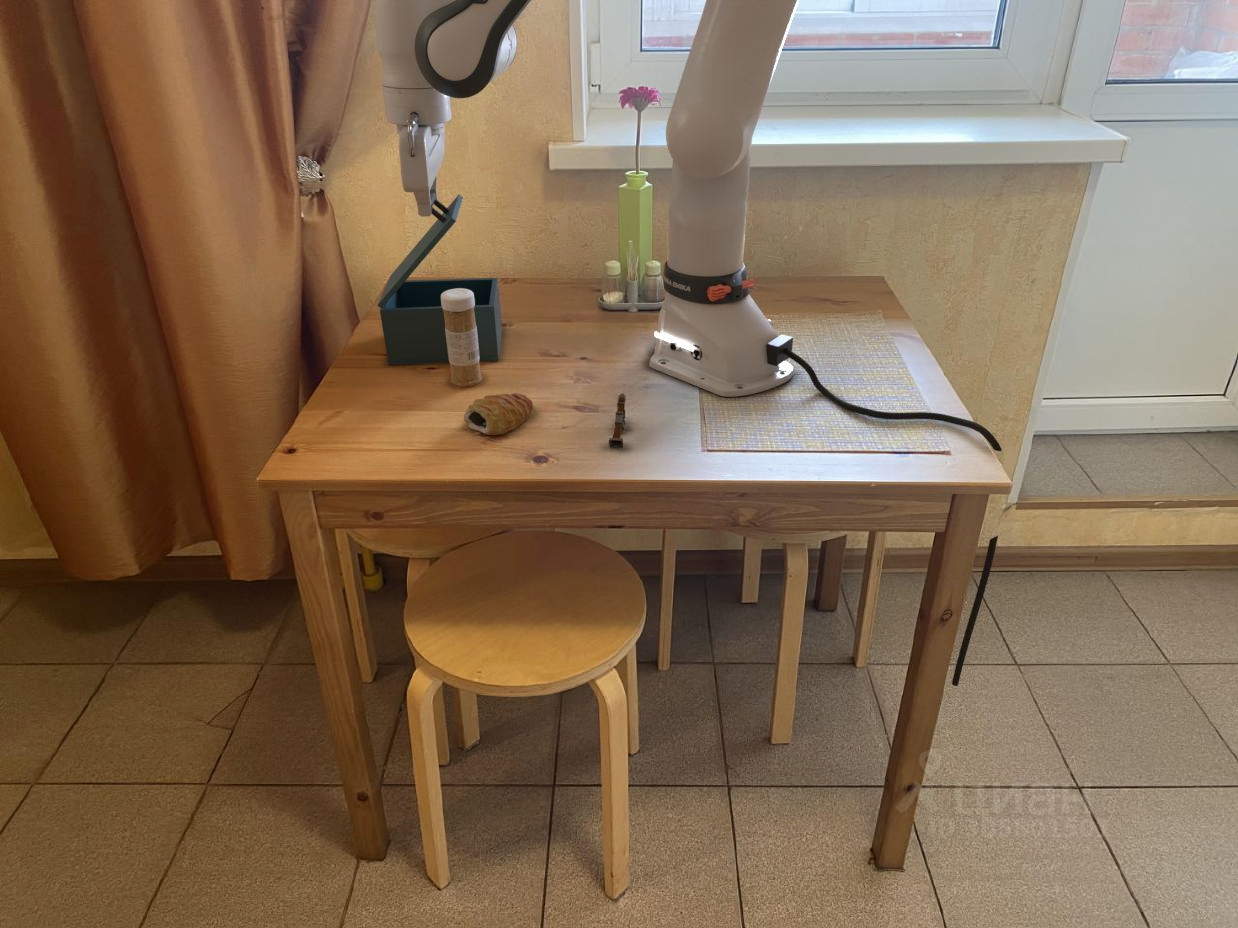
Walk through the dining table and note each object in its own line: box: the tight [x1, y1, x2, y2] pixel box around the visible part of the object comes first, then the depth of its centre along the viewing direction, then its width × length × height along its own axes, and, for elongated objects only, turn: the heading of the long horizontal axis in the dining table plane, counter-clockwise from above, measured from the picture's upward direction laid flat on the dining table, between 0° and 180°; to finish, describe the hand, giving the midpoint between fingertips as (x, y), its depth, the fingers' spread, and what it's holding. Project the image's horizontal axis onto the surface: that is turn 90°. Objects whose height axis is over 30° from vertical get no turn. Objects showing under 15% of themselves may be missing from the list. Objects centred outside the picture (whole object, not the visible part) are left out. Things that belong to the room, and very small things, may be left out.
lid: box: [377, 190, 464, 309], centre depth 130 cm, size 17×13×5 cm
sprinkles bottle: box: [441, 288, 483, 387], centre depth 125 cm, size 5×5×13 cm
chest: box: [379, 277, 503, 366], centre depth 137 cm, size 17×13×9 cm
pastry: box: [463, 392, 534, 436], centre depth 117 cm, size 9×7×4 cm
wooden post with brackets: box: [608, 392, 627, 450], centre depth 114 cm, size 2×8×4 cm, turn 173°
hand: (428, 208), depth 128 cm, fingers closed on lid, 5 cm apart
